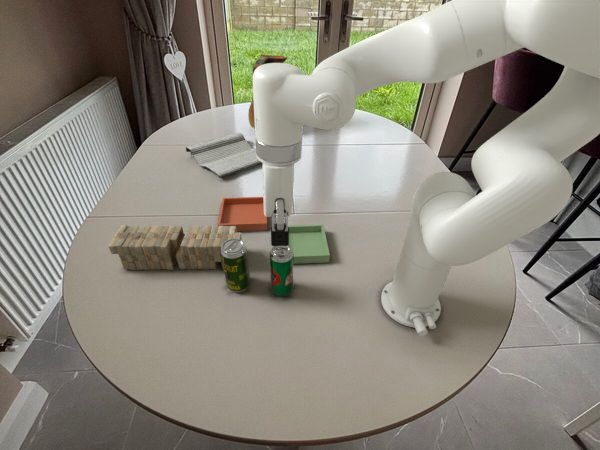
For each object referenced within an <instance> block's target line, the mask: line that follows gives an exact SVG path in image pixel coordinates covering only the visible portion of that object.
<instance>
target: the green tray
mask: <svg viewBox="0 0 600 450" xmlns="http://www.w3.org/2000/svg"><path fill="white" fill-rule="evenodd" d="M288 227H289V245H288V246H289V247H290V248H291V250H292V251H293V265H298V264H299V265H300V264H302V265H303V264H321V263H323V264H325V263H330V259H331V254H330V249H329V245H328V240H327V234H326V230H325V226H324V224H298V225H288Z"/></svg>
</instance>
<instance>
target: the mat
mask: <svg viewBox="0 0 600 450" xmlns="http://www.w3.org/2000/svg"><path fill="white" fill-rule="evenodd" d="M185 152H186V153H190V157H191V158H192V157H193V158H194V160H195V161H196V163H197V164H198V165H199V166H200V167H202V168H207V169H208V170H210V171H211V172H212V173H214V174H215V175H217V176H218V178H219V179H220V178H221V179H223V177H227V176H229V175H232V174H235V173H238V172H241V171H243V170H246V169H249V168H252V167H256V166H258V165H261V164H263V163H262V162H260V161H259V160H258V159H257V157H256V148H253V147H252V146H251V144H250V143H249V142H248V141H247V140H246V138H245V136H244V134H243V133H242V132H236V133H232V134H228V135H226V136H221V137H217V138H213V139H211V140H207V141H204V142H203V141H202V142H200V143H196V144H193V145H189V146H186V147H185Z"/></svg>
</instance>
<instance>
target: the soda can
mask: <svg viewBox="0 0 600 450" xmlns="http://www.w3.org/2000/svg"><path fill="white" fill-rule="evenodd" d="M268 257H269V258H268V259H269V260H268V261H269V276H270V291H271V292H272V293H273V294H274V295H275V296H277V297H286V296H288V295H290V294H291V293H292V292H293V290H294V264H293V251H292V250H291V248H290V247H289V246H272V247H271V248H270V251H269V255H268Z"/></svg>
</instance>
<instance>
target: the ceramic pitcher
mask: <svg viewBox="0 0 600 450" xmlns="http://www.w3.org/2000/svg"><path fill="white" fill-rule="evenodd" d="M287 59H288V57H287V56H283V55H279V54H278V55H277V54H275V55H270V54H260V55H259V57H258V58H257V59H256V60H255V62H254V63H253V66H252V74H253V73H254V71H255V69H256V68H257V67H259V66H261V65H263V64H268V63H285V62H286V61H287ZM248 123H249V126H250V127H251V128H253V129H254V130H255V120H254V100H253V99H251V102H250V105H249V107H248Z"/></svg>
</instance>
